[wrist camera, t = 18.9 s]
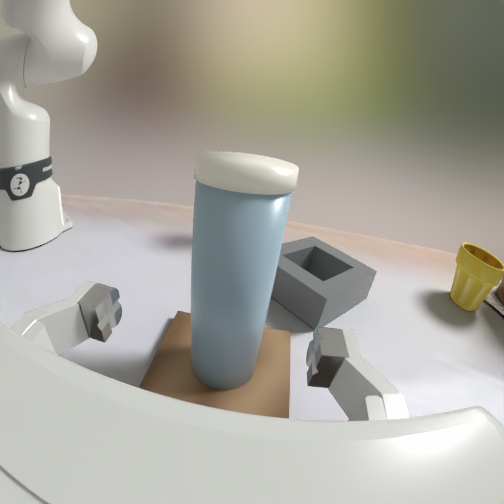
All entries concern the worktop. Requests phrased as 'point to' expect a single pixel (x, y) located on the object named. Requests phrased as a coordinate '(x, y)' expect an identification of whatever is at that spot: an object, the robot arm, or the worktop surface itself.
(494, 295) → the cookie jar
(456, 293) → the plant pot
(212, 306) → the blue bottle
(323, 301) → the housing
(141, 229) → the worktop surface
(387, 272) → the worktop surface
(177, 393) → the board
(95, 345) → the worktop surface
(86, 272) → the worktop surface
